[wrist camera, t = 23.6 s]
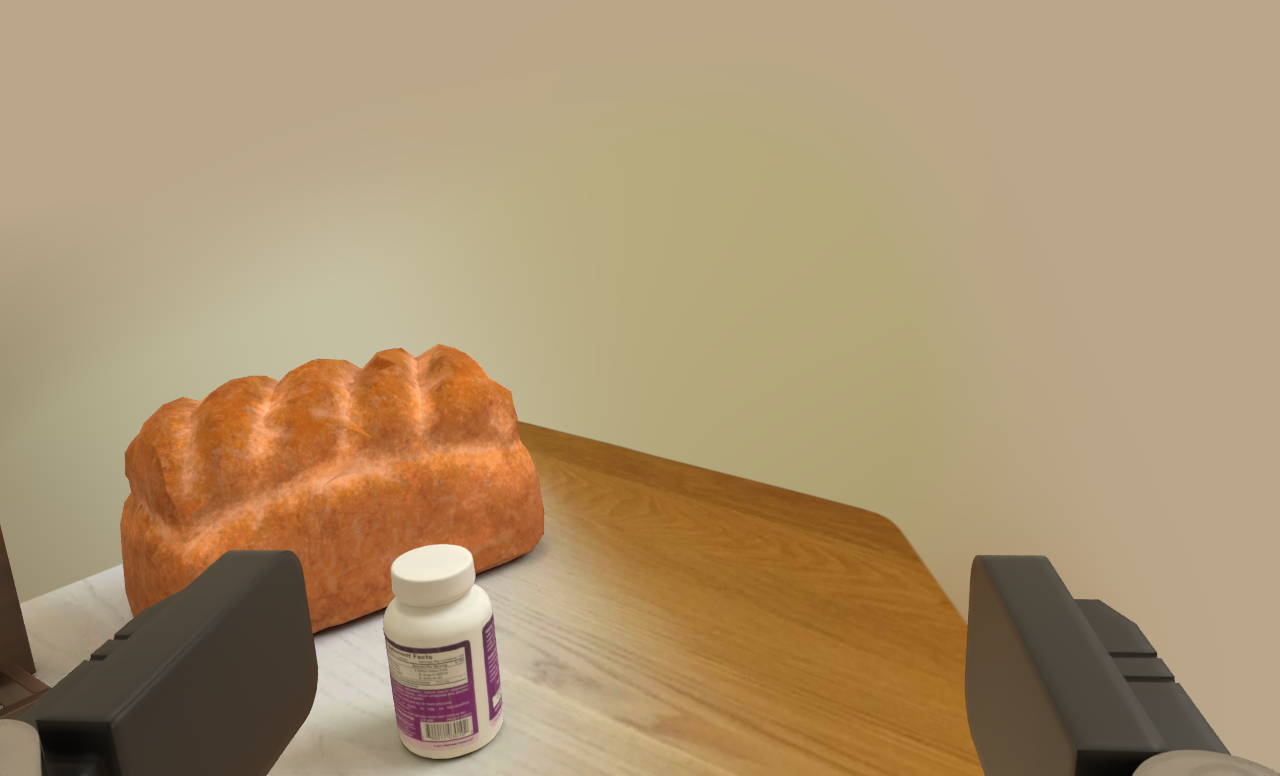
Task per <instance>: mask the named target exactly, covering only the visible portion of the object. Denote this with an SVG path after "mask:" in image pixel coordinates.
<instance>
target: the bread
mask: <svg viewBox="0 0 1280 776" xmlns="http://www.w3.org/2000/svg"><path fill="white" fill-rule="evenodd" d="M125 475H126V477H127V478H128V479H129V483H130V488H131V494H130V495H129V497H128V498H127V500H126V501H125V503H124V508H123V513H122V518H121V524H120V527H121V543H122V555H123V568H124V579H125V590H126V594H127V598H128V601H129V604H130V607H131V611H132V614H133V618H135V617H136V616H137V615H138V614H139V613H140V612H142V611H143V610H144V609H146V608H148V607H150V606H152V605H154V604H156V603H158V602H160V601H162V600H164V599H166V598H168V597H170V596H171V595H173V594H175V593H177V592H179V591H181V590H183V589H185V588H186V587H187V586H188V585H189V584H190V583H191V582H192V581H194V580H195V579H196V578H197V577H198V576H199V575H200V574H201V573H203V572H204V571H205V570H206V569H207V568H208V567H209V566H211V565H212V564H213V563H214V562H215V561H216V560H217V559H218V558H220V557H221V556H222V555H223V554H224V553H226V552H227V551H230V550H290V551H293V552H294V553H295V554H296V555H297V556H298V558H299V560H300V562H301V565H302V568H303V573H304V580H305V586H306V593H307V599H308V606H309V612H310V618H311V625H312V631H313V633H315V632H318V631H320V630H322V629H325V628H327V627H331V626H335V625H339V624H343V623H345V622H348V621H351V620H353V619H356V618H359V617H361V616H364V615H366V614H369V613H372V612H374V611H377V610H380V609H382V608H385V607H387V606H388V605H389V604H390V602H391V601H392V600H393V599H394V598H395V597H396V596H395V594H394V593H393V591H392V579H391V566H392V563H393V562H394V561H395V560H396V559H397V558H398V557H399V556H401V555H402V554H404V553H406V552H408V551H411V550H413V549H417V548H420V547H424V546H428V545H438V544H449V545H456V546H461V547H463V548H465V549H467V550H468V551H469V552H470V553H471V554H472V557H473V563H474V569H475V574H477V573H480V572H482V571H485V570H488V569H490V568H493V567H496V566H498V565H501V564H504V563H506V562H508V561H510V560H512V559H515V558H517V557H519V556H521V555H523V554H526V553H528V552H530V551H532V550H533V549H534V547H535V546H536V544H537V543H538V542H539V540H540V539H541V537H542V536H543V534H544V507H543V501H542V496H541V490H540V485H539V479H538V476H537V473H536V470H535V467H534V465H533V462H532V459H531V456H530V453H529V452H528V450H527V449H526V448H525V447H524V445H523V444H522V443H521V441H520V438H519V429H518V420H517V415H516V411H515V408H514V405H513V399H512V394H511V391H509V390H507V389H506V388H504V387H503V386H501V385H499V384H498V383H496V382H495V381H493V380H491V379H490V378H489V377H488V376H487V375H486V374H485V372H484V371H483V369H482V368H481V367H480V366H479V364H478V363H477V362H476V361H475V360H473V359H472V358H471V357H469V356H468V355H467V354H465V353H463V352H461V351H459V350H457V349H455V348H451V347H448V346H444V345H440V344H438V345H436V346H434V347H433V348H431V349H429V350H428V351H426V352H424V353H423V354H421V355H419V356H418V357H416V358H414V357H413V356H412V355H410V354H409V353H408V352H406V351H405V350H404V349H402V348H399V349H396V348H394V349H389V350H384V351H380V352H377V353H376V354H375V355H374V357H373V358H372V359H371V360H370V361H369V362H368V363H367V364H366V365H365V367H364V368H363V369H361V368H359V367H357V366H355V365H353V364H352V363H350V362H348V361H346V360H331V359H317V360H312V361H310V362H308V363H306V364H304V365H302V366H300V367H298V368H296V369H294V370H292V371H290V372H288V374H286V376H285V377H284V378H283V379H282V380H281V381H280V382H279V381H276V380H274V379H271V378H269V377H267V376H249V377H244V378H239V379H234V380H230V381H228V382H227V383H225V384H223V385H222V386H220V387H218V388H217V389H216V390H215V391H213V392H212V393H210V394H209V395H208V396H206V397H205V398H204V399H203V400H201V401H197V400H192V399H188V398H184V397H182V398H179V399H177V400H174V401H172V402H169V403H167V404H164V405H162V406H161V407H160V408H159V409H158V410H157V411H156V412H155V413H154V414H153V415H152V416H151V417H150V418H149V419H148V420H147V421H146V422H145V423H144V424H143V427H142V429H141V431H140V433H139V435H138V436H137V437H136V438H135V439H134V440H133V441H132V442H131V444H130V445H129V447H128V448H127V450H126V452H125Z"/></svg>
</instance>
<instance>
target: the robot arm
mask: <svg viewBox="0 0 1280 776" xmlns="http://www.w3.org/2000/svg"><path fill="white" fill-rule="evenodd" d="M317 682H318V665H317V657H316V651H315V644H314V638H313V631H312V625H311V618H310V612H309V606H308V599H307V593H306V586H305V580H304V573H303V568H302V565H301V562H300V560H299V558H298V556H297V555H296V554H295V553H294V552H293V551H290V550H230V551H227V552H226V553H224V554H223V555H222V556H221V557H220V558H218V559H217V560H216V561H215V562H214V563H213V564H212V565H211V566H209V567H208V568H207V569H206V570H205V571H204V572H203V573H201V574H200V575H199V576H198V577H197V578H196V579H195V580H194V581H192V582H191V583H190V584H189V585H188V586H187V587H186V588H185V589H183V590H181V591H179V592H177V593H175V594H173V595H171V596H170V597H168V598H166V599H164V600H162V601H160V602H158V603H156V604H154V605H152V606H150V607H148V608H146V609H144V610H143V611H142V612H140V613H139V614H138V615H137V616H136V617H135V618H133V619H132V620H131V621H130V622H129V623H128V624H126V625H125V626H124V627H123V628H122V629H121V630H119V631H118V632H117V633H116V634H115V637H114V640H108V641H107V642H105V643H104V644H103V645H102V646H101V647H100V648H98V649H97V650H96V651H95V652H94V653H93V654H91V659H90V661H85V660H84V661H83V662H82V663H81V664H80V665H79V666H78V667H76V668H75V669H74V670H73V671H72V672H71V673H69V674H68V675H67V676H66V677H65V678H64V679H62V680H61V681H60V682H59V683H58V684H57V685H55V686H54V687H53V688H52V689H51V690H50V691H48V692H47V693H46V694H45V695H44V696H43V697H41V698H40V699H39V700H38V701H37V702H36V703H34V704H33V705H32V706H31V707H30V708H29V709H27V710H26V711H25V712H24V713H23V714H22V715H20V716H19V717H18V718H17V719H16V720H10V719H0V776H266V775H267V774H268V772H269V771H270V770H271V768H272V767H273V765H274V764H275V762H276V761H277V760H278V758H279V757H280V755H281V754H282V753H283V751H284V750H285V748H286V747H287V745H288V744H289V743H290V741H291V740H292V738H293V737H294V735H295V734H296V733H297V731H298V730H299V728H300V727H301V726H302V724H303V723H304V721H305V720H306V718H307V717H308V715H309V713H310V711H311V708H312V705H313V703H314V699H315V695H316V690H317ZM965 698H966V709H967V717H968V723H969V728H970V732H971V736H972V739H973V742H974V745H975V747H976V750H977V753H978V756H979V759H980V762H981V765H982V768H983V771H984V774H985V776H1280V773H1278V772H1275V771H1274V770H1272V769H1270V768H1267V767H1265V766H1262V765H1260V764H1258V763H1255V762H1252V761H1249V760H1246V759H1243V758H1240V757H1236V756H1232V755H1231V754H1230V753H1229V751H1228V750H1227V749H1226V747H1225V746H1224V744H1223V743H1222V742H1221V740H1220V739H1219V738H1218V736H1217V735H1216V733H1215V732H1214V731H1213V729H1212V728H1211V726H1210V725H1209V724H1208V722H1207V721H1206V720H1205V718H1204V717H1203V715H1202V714H1201V713H1200V711H1199V710H1198V709H1197V707H1196V706H1195V704H1194V703H1193V702H1192V700H1191V699H1190V697H1189V696H1188V695H1187V693H1186V692H1185V691H1184V689H1183V688H1182V686H1181V685H1180V684H1179V683H1175V680H1174V675H1173V674H1172V673H1171V672H1170V670H1169V669H1168V667H1167V666H1166V665H1165V663H1164V662H1163V660H1162V659H1160V658H1157V652H1156V651H1155V649H1154V648H1153V646H1152V645H1151V644H1150V642H1149V641H1148V640H1147V638H1146V637H1145V635H1144V634H1143V633H1142V631H1141V630H1140V629H1139V627H1138V626H1137V624H1135V623H1134V622H1132V621H1130V620H1129V619H1128V618H1126V617H1124V616H1123V615H1121V614H1120V613H1118V612H1117V611H1115V610H1114V609H1112V608H1111V607H1109V606H1107V605H1106V604H1105V603H1103V602H1102V601H1100V600H1087V599H1086V600H1084V599H1073V597H1072V596H1071V594H1070V592H1069V591H1068V590H1067V588H1066V586H1065V585H1064V583H1063V582H1062V580H1061V578H1060V577H1059V575H1058V574H1057V572H1056V570H1055V569H1054V567H1053V566H1052V564H1051V563H1050V561H1049V560H1048V558H1047V557H1045V556H1017V555H1014V556H1013V555H977V556H975V558H974V560H973V564H972V568H971V577H970V594H969V613H968V631H967V650H966V669H965Z"/></svg>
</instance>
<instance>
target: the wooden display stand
mask: <svg viewBox="0 0 1280 776" xmlns="http://www.w3.org/2000/svg"><path fill="white" fill-rule="evenodd" d="M34 672H36V669H35V665H34V661H33V657H32V653H31V649H30V645H29V641H28V637H27V633H26V629H25V625H24V620H23V616H22V612H21V608H20V604H19V600H18V596H17V592H16V588H15V584H14V580H13V576H12V571H11V567H10V564H9V559H8V555H7V551H6V547H5V543H4V539H3V535H2V531H1V527H0V703H1V704H2V705H3V706H5V708H3V709H1V710H0V719H10V720H16V719H17V718H18V717H19V716H20V715H22V714H23V713H24V712H25V711H26V710H27V709H29V708H30V707H31V706H32V705H33V704H34V703H36V702H37V701H38V700H39V699H40V698H41V697H43V696H44V695H45V694H46V693H47V692H48V691H50V690H51V689H52V688H51V687H49V686H48V685H46V684H45V683H43V682H42V681H40V680H38V679H37V678H35V677H34V676H32V675H31V674H32V673H34Z"/></svg>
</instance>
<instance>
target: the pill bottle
mask: <svg viewBox="0 0 1280 776" xmlns="http://www.w3.org/2000/svg"><path fill="white" fill-rule="evenodd" d="M391 579H392V591H393V593H394V594H395V596H396V597H395V598H394V599H393V600H392V601H391V602H390V604H389V605H388V607H387V609H386V611H385V614H384V627H383V630H384V635H385V640H386V648H387V655H388V661H389V669H390V677H391V685H392V692H393V700H394V706H395V712H396V719H397V725H398V730H399V735H400V738H401V740H402V742H403V744H404V745H405V746H406V747H407V748H408V749H409V750H410V751H412V752H413V753H415V754H417V755H420V756H423V757H428V758H433V759H445V758H453V757H457V756H461V755H464V754H467V753H470V752H473V751H475V750H478V749H480V748H481V747H483V746H485V745H486V744H487V743H489V742H490V741H491V740H492V739H493V738H494V737H495V736H496V734H497V733H498V731H499V730H500V728H501V726H502V723H503V706H502V695H501V685H500V674H499V664H498V655H497V646H496V637H495V627H494V618H493V609H492V605H491V601H490V599H489V597H488V595H487V594H486V593H485V591H484V590H483V589H481V588H480V587H479V586H477V585H476V584H474V581H475V569H474V563H473V557H472V554H471V553H470V552H469V551H468V550H467V549H465V548H463V547H461V546H456V545H449V544H438V545H428V546H424V547H420V548H417V549H413V550H411V551H408V552H406V553H404V554H402V555H401V556H399V557H398V558H397V559H396V560H395V561H394V562H393V563H392V566H391Z"/></svg>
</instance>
